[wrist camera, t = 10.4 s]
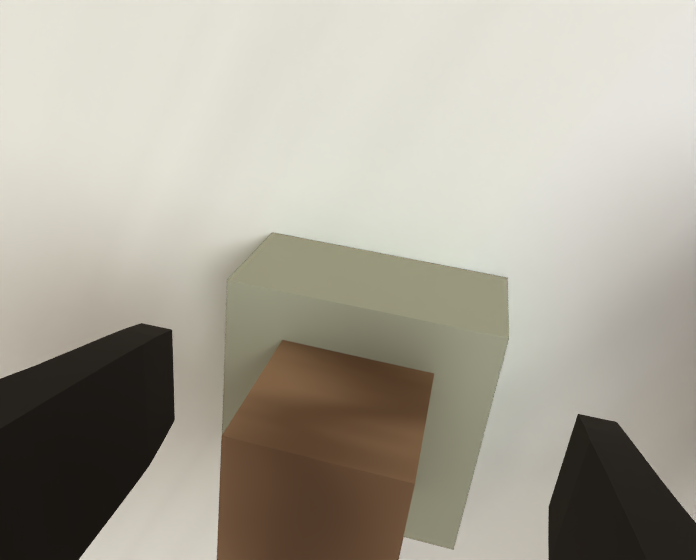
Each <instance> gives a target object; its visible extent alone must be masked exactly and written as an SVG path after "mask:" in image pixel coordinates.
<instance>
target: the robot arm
mask: <svg viewBox="0 0 696 560" xmlns="http://www.w3.org/2000/svg"><path fill="white" fill-rule="evenodd" d="M174 420H175V416H174V381H173V346H172V330H171V329H166V328H161V327H157V326H152V325H147V324H142V323H141V324H138V325H135V326H132V327H129V328H126V329H123V330H121V331H118V332H116V333H113V334H111V335H108V336H106V337H103V338H101V339H98V340H96V341H94V342H91V343H89V344H86V345H84V346H82V347H79V348H77V349H74V350H72V351H70V352H67V353H65V354H62V355H60V356H58V357H55V358H53V359H50V360H48V361H45V362H43V363H41V364H38V365H36V366H33V367H31V368H28V369H25V370H23V371H20V372H17V373H15V374H12V375H9V376H7V377H4V378H1V379H0V560H79V558H80V557H81V556H82V554H83V553H84V552H85V550H86V549H87V548H88V546H89V545H90V544H91V543H92V541H93V540H94V539H95V537H96V536H97V535H98V533H99V532H100V531H101V529H102V528H103V527H104V525H105V524H106V523H107V521H108V520H109V519H110V518H111V516H112V515H113V514H114V512H115V511H116V510H117V508H118V507H119V506H120V504H121V503H122V502H123V500H124V499H125V498H126V496H127V495H128V494H129V492H130V491H131V490H132V488H133V487H134V486H135V484H136V483H137V482H138V480H139V479H140V478H141V476H142V475H143V473H144V472H145V471H146V469H147V468H148V467H149V465H150V463H151V462H152V460H153V458H154V456H155V455H156V453H157V451H158V450H159V448H160V446H161V444H162V442H163V441H164V439H165V437H166V435H167V433H168V431H169V429H170V428H171V426H172V424H173V422H174ZM548 540H549V560H696V523H695V521H694V520H693V519H692V518H691V517H690V515H689V514H688V513H687V512H686V511H685V509H684V508H683V507H682V506H681V504H680V503H679V502H678V501H677V499H676V498H675V497H674V496H673V494H672V493H671V492H670V491H669V489H668V488H667V487H666V486H665V484H664V483H663V482H662V480H661V479H660V478H659V477H658V475H657V474H656V473H655V471H654V470H653V469H652V467H651V466H650V465H649V463H648V462H647V461H646V460H645V458H644V457H643V456H642V454H641V453H640V452H639V450H638V449H637V448H636V446H635V445H634V444H633V442H632V441H631V440H630V438H629V437H628V436H627V434H626V433H625V432H624V431H623V429H622V428H621V427H620V426H619V424H618V423H617V422H614V421H609V420H604V419H599V418H595V417H590V416H585V415H580V414H578V416H577V419H576V422H575V425H574V428H573V432H572V435H571V438H570V441H569V444H568V447H567V451H566V454H565V457H564V460H563V463H562V466H561V470H560V473H559V476H558V479H557V482H556V485H555V489H554V492H553V495H552V498H551V501H550V504H549V536H548Z"/></svg>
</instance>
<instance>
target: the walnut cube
mask: <svg viewBox="0 0 696 560" xmlns="http://www.w3.org/2000/svg"><path fill="white" fill-rule="evenodd" d="M433 378H434V373H430V372H425V371H421V370H416V369H412V368H407V367H403V366H398V365H394V364H389V363H385V362H380V361H376V360H371V359H367V358H362V357H358V356H353V355H349V354H344V353H340V352H335V351H331V350H327V349H322V348H318V347H313V346H309V345H304V344H300V343H295V342H291V341H286V340H282V341H281V343H280V344H279V346H278V347H277V349H276V350H275V352H274V354H273V355H272V357H271V358H270V360H269V362H268V363H267V365H266V366H265V368H264V369H263V371H262V373H261V374H260V376H259V377H258V379H257V381H256V382H255V384H254V385H253V387H252V388H251V390H250V392H249V393H248V395H247V396H246V398H245V400H244V401H243V403H242V404H241V406H240V408H239V409H238V411H237V412H236V414H235V415H234V417H233V419H232V420H231V422H230V423H229V425H228V427H227V428H226V430H225V431H224V433H223V434H222V441H221V467H220V493H219V519H218V545H217V560H398V559H399V555H400V550H401V546H402V541H403V536H404V532H405V527H406V523H407V518H408V513H409V509H410V504H411V500H412V495H413V491H414V486H415V481H416V475H417V469H418V464H419V458H420V452H421V447H422V441H423V435H424V430H425V424H426V418H427V413H428V407H429V401H430V395H431V390H432V384H433Z"/></svg>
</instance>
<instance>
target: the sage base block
mask: <svg viewBox="0 0 696 560" xmlns="http://www.w3.org/2000/svg"><path fill="white" fill-rule="evenodd" d="M282 340H286V341H291V342H295V343H300V344H304V345H309V346H313V347H318V348H322V349H327V350H331V351H335V352H340V353H344V354H349V355H353V356H358V357H362V358H367V359H371V360H376V361H380V362H385V363H389V364H394V365H398V366H403V367H407V368H412V369H416V370H421V371H425V372H430V373H434V378H433V384H432V390H431V395H430V401H429V407H428V413H427V418H426V424H425V430H424V435H423V441H422V447H421V452H420V458H419V464H418V469H417V475H416V481H415V486H414V491H413V495H412V500H411V504H410V509H409V513H408V518H407V523H406V527H405V532H404V536H403V537H406V538H410V539H414V540H418V541H422V542H426V543H430V544H433V545H437V546H441V547H445V548H449V549H453V550H454V546H455V542H456V538H457V534H458V531H459V527H460V523H461V519H462V515H463V511H464V508H465V504H466V500H467V496H468V492H469V489H470V485H471V481H472V477H473V473H474V470H475V466H476V462H477V458H478V454H479V451H480V447H481V443H482V439H483V435H484V431H485V428H486V424H487V420H488V416H489V412H490V409H491V405H492V401H493V397H494V393H495V390H496V386H497V382H498V378H499V374H500V370H501V367H502V363H503V359H504V355H505V351H506V348H507V344H508V340H509V315H508V278H506V277H501V276H495V275H490V274H485V273H480V272H475V271H469V270H464V269H459V268H454V267H448V266H443V265H438V264H433V263H428V262H422V261H417V260H412V259H407V258H402V257H396V256H391V255H386V254H381V253H376V252H370V251H365V250H360V249H355V248H350V247H344V246H339V245H334V244H329V243H324V242H318V241H313V240H308V239H303V238H298V237H292V236H287V235H282V234H277V233H272V234H271V235H270V236H269V237H268V238H267V239H266V240H265V241H264V242H263V243H262V244H261V245H260V246H259V247H258V248H257V249H256V250H255V251H254V252H253V253H252V255H251V256H250V257H249V258H248V259H247V260H246V261H245V262H244V263H243V264H242V265H241V266H240V267H239V268H238V269H237V270H236V271H235V272H234V273H233V274H232V275H231V277H230V278H229V279H228V280H227V302H226V333H225V363H224V394H223V424H222V434H223V433H224V431H225V430H226V428H227V427H228V425H229V423H230V422H231V420H232V419H233V417H234V415H235V414H236V412H237V411H238V409H239V408H240V406H241V404H242V403H243V401H244V400H245V398H246V396H247V395H248V393H249V392H250V390H251V388H252V387H253V385H254V384H255V382H256V381H257V379H258V377H259V376H260V374H261V373H262V371H263V369H264V368H265V366H266V365H267V363H268V362H269V360H270V358H271V357H272V355H273V354H274V352H275V350H276V349H277V347H278V346H279V344H280V343H281V341H282Z"/></svg>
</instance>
